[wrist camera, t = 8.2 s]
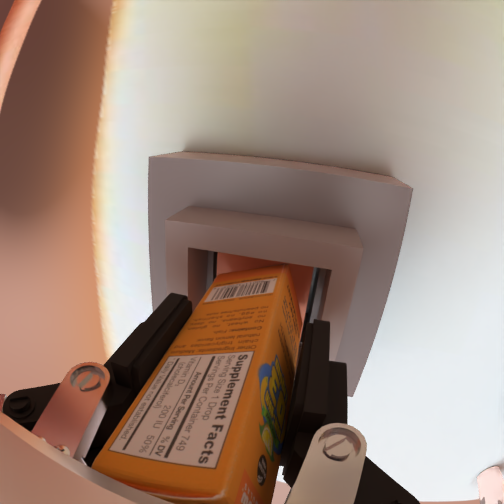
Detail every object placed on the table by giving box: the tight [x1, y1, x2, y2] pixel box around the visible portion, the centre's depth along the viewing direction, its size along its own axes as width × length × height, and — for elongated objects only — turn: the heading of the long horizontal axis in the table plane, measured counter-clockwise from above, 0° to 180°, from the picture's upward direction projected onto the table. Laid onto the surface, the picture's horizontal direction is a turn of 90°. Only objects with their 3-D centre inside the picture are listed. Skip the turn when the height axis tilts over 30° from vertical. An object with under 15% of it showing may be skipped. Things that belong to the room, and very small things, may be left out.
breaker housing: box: [148, 151, 413, 397], centre depth 16 cm, size 12×12×6 cm
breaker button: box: [217, 252, 314, 338], centre depth 16 cm, size 4×4×3 cm
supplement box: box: [91, 263, 303, 504], centre depth 9 cm, size 3×3×10 cm
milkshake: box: [477, 466, 504, 504], centre depth 18 cm, size 4×5×10 cm
